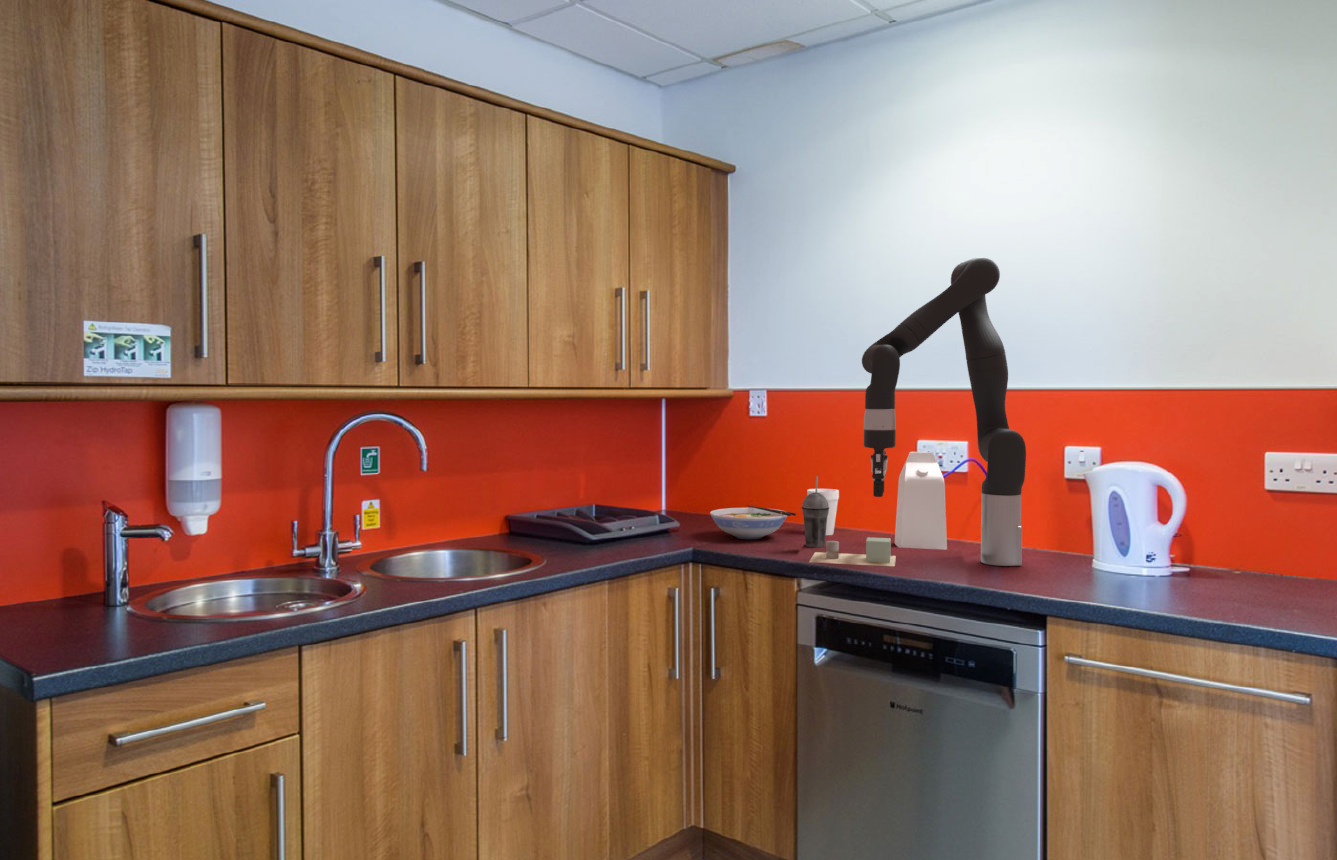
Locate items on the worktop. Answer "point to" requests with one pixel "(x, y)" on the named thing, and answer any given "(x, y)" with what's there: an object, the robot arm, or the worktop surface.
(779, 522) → the ramen bowl
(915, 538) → the milk
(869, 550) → the grey-green block
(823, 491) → the foam cup
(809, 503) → the beverage cup
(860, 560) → the post board
